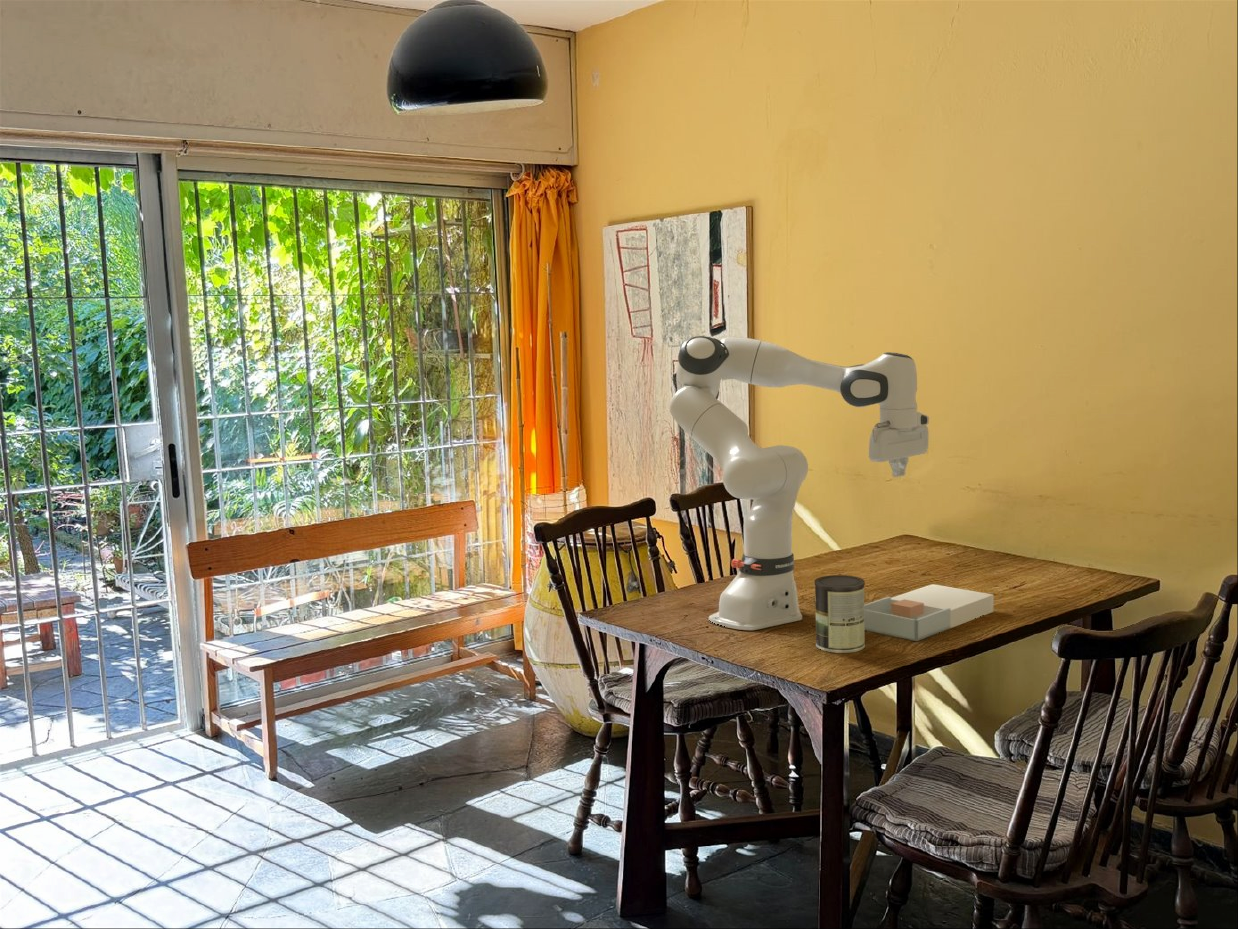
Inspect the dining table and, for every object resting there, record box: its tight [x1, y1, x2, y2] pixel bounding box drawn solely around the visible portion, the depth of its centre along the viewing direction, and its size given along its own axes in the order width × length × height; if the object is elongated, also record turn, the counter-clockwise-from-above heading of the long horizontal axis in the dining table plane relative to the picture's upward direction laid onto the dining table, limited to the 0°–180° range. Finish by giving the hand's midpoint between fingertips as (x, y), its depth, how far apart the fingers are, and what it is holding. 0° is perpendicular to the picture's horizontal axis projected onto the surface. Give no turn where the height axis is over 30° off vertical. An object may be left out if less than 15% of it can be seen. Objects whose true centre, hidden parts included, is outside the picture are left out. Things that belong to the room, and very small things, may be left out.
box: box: [864, 596, 951, 642], centre depth 249 cm, size 13×16×4 cm
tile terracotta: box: [891, 599, 924, 618], centre depth 250 cm, size 5×5×2 cm
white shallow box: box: [891, 583, 995, 629], centre depth 259 cm, size 18×16×4 cm
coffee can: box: [813, 574, 866, 654], centre depth 237 cm, size 10×10×14 cm
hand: (898, 476), depth 276 cm, fingers closed
